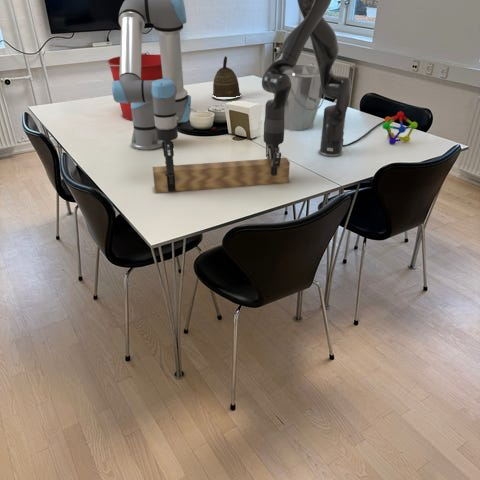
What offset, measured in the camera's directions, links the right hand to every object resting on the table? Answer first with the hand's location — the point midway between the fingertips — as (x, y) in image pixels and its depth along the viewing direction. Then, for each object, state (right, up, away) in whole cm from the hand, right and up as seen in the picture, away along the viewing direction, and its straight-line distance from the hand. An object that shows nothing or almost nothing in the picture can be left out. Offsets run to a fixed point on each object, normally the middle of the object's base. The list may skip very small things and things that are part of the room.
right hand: (272, 172), depth 171 cm
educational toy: (+62, +20, +39) cm, 76 cm away
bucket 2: (+17, +34, +62) cm, 73 cm away
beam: (-19, -5, -1) cm, 20 cm away
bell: (-21, +65, +110) cm, 129 cm away
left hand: (-38, -6, -5) cm, 39 cm away
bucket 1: (-66, +44, +77) cm, 111 cm away
